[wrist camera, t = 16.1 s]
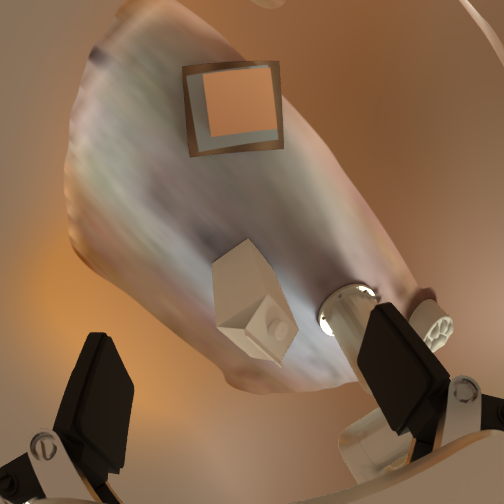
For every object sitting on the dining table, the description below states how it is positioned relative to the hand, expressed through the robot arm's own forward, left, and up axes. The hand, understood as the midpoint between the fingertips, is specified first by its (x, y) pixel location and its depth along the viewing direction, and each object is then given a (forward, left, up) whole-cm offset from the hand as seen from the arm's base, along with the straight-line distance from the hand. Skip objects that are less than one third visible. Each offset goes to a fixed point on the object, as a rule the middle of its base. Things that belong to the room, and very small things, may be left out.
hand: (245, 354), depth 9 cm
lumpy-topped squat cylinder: (-47, +37, -32) cm, 68 cm away
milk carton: (-3, +15, -32) cm, 36 cm away
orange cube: (-3, -9, -25) cm, 27 cm away
